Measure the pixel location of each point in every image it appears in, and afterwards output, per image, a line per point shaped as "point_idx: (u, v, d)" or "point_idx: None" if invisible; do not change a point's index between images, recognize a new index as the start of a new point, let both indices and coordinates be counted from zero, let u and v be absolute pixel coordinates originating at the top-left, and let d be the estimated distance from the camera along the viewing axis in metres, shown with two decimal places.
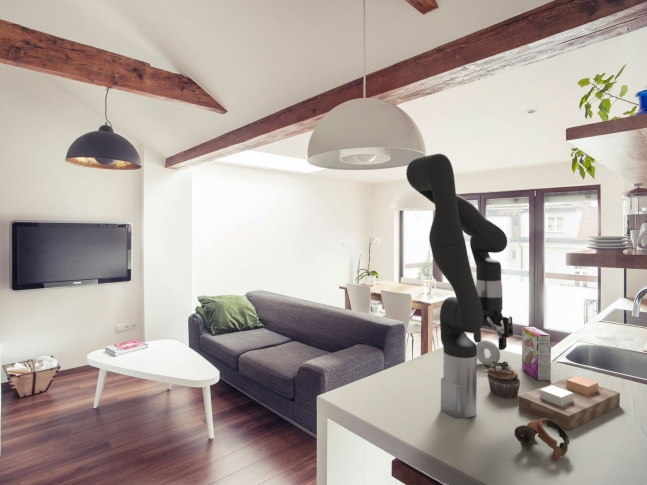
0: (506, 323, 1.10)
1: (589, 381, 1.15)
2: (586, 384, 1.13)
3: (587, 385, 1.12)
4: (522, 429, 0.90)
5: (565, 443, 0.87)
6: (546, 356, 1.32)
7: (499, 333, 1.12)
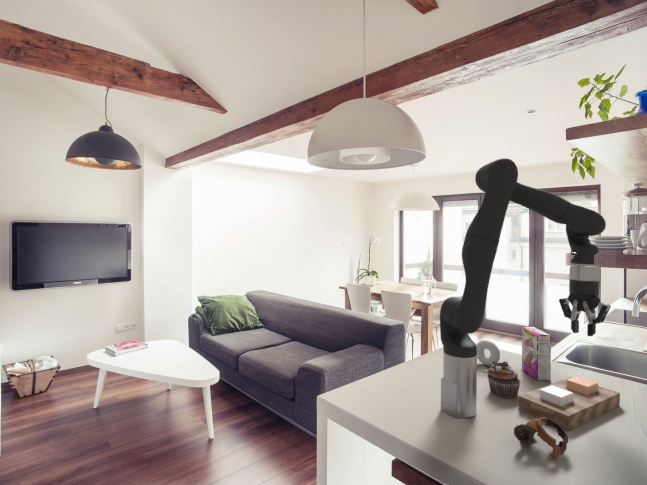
0: (603, 311, 1.09)
1: (589, 381, 1.15)
2: (586, 384, 1.13)
3: (587, 385, 1.12)
4: (521, 428, 0.90)
5: (564, 442, 0.87)
6: (546, 356, 1.32)
7: (590, 319, 1.12)
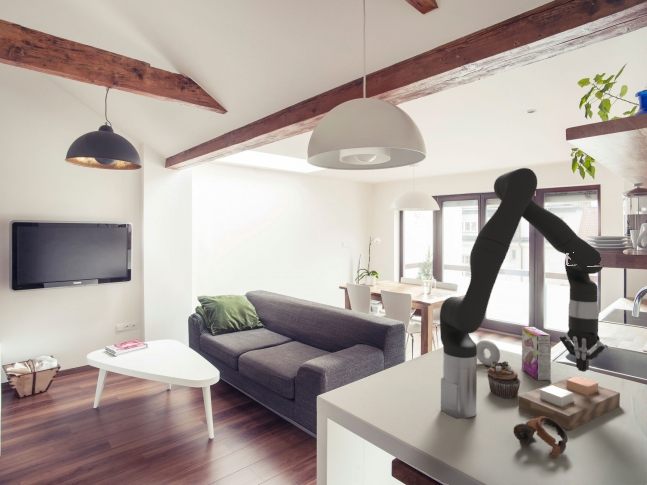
0: (599, 351, 1.10)
1: (589, 381, 1.15)
2: (586, 384, 1.13)
3: (587, 385, 1.12)
4: (521, 427, 0.90)
5: (563, 441, 0.87)
6: (546, 356, 1.32)
7: (584, 355, 1.14)
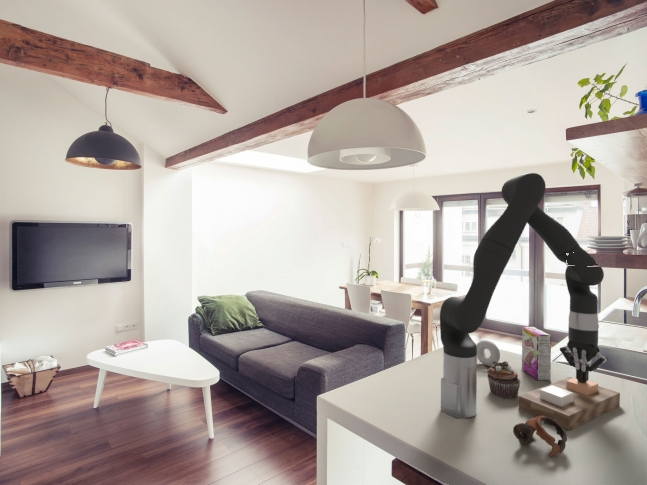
0: (599, 363, 1.10)
1: (589, 382, 1.15)
2: (586, 385, 1.13)
3: (587, 386, 1.12)
4: (521, 427, 0.91)
5: (563, 440, 0.88)
6: (546, 356, 1.32)
7: (584, 367, 1.14)
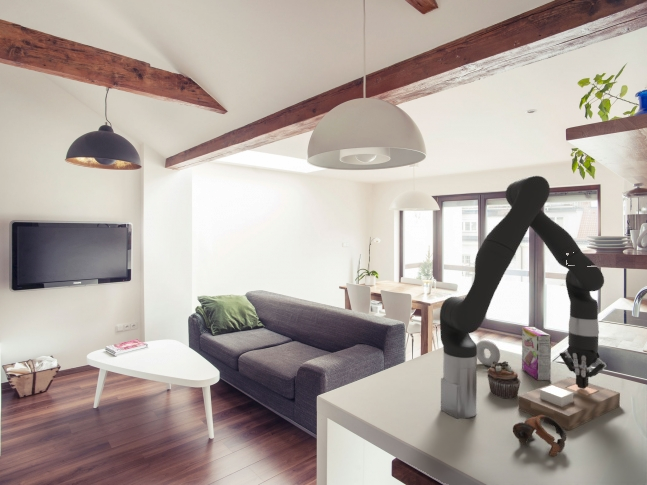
0: (599, 369, 1.10)
1: (589, 389, 1.15)
2: (586, 392, 1.13)
3: (587, 393, 1.12)
4: (520, 426, 0.91)
5: (562, 439, 0.88)
6: (546, 356, 1.32)
7: (583, 372, 1.14)
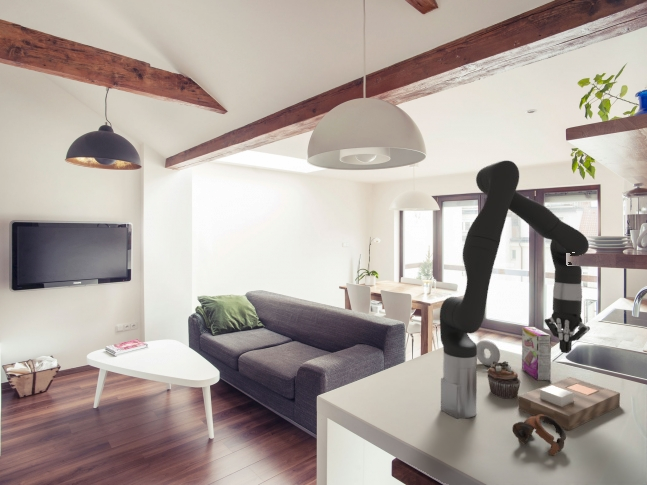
0: (581, 332, 1.12)
1: (589, 389, 1.15)
2: (586, 392, 1.13)
3: (587, 393, 1.12)
4: (520, 425, 0.91)
5: (562, 438, 0.88)
6: (546, 356, 1.32)
7: (567, 337, 1.16)
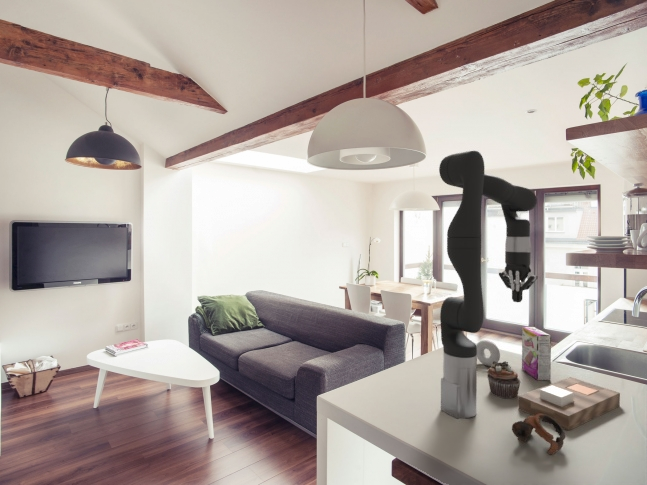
0: (530, 281, 1.21)
1: (589, 389, 1.15)
2: (586, 392, 1.13)
3: (587, 393, 1.12)
4: (519, 425, 0.92)
5: (561, 437, 0.89)
6: (546, 356, 1.32)
7: (517, 287, 1.24)
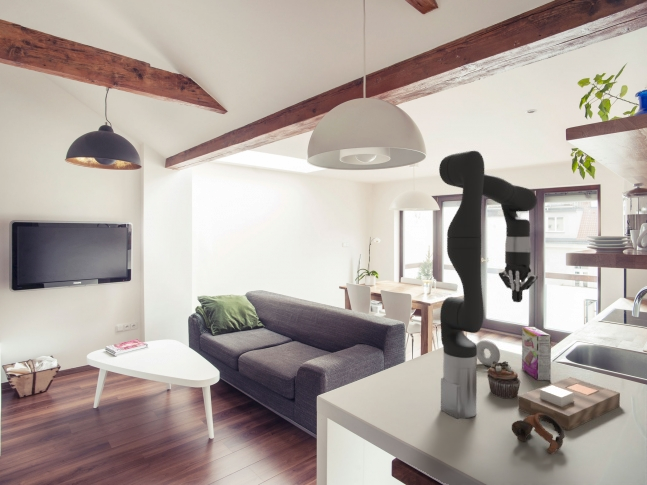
0: (530, 281, 1.21)
1: (589, 389, 1.15)
2: (586, 392, 1.13)
3: (587, 393, 1.12)
4: (519, 424, 0.92)
5: (561, 437, 0.89)
6: (546, 356, 1.32)
7: (517, 287, 1.24)
